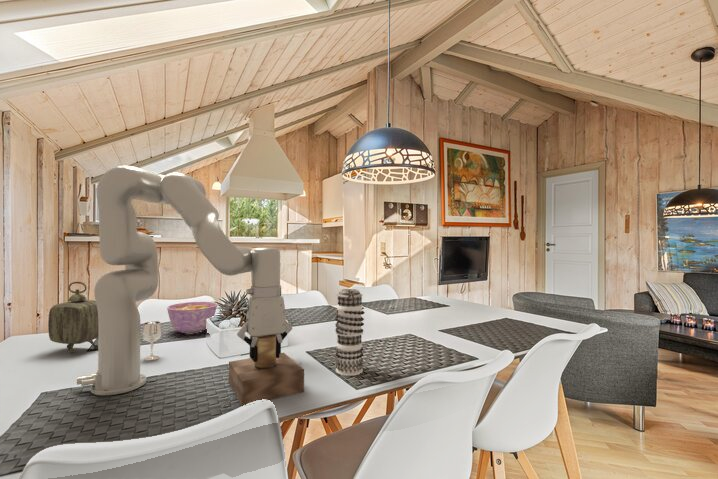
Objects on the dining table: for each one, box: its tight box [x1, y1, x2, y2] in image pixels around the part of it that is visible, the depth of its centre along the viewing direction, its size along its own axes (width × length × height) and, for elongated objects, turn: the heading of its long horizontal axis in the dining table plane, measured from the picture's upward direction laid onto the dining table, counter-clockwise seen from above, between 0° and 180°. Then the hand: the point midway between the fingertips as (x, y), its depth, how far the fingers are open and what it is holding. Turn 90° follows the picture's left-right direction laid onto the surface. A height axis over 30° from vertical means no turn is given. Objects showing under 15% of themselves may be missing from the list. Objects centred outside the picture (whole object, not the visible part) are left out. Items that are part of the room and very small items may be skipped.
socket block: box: [228, 352, 305, 406], centre depth 96 cm, size 16×16×6 cm
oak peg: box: [255, 335, 276, 370], centre depth 96 cm, size 6×6×14 cm
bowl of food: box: [166, 301, 218, 333], centre depth 153 cm, size 20×20×12 cm
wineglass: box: [141, 320, 163, 361], centre depth 119 cm, size 6×6×12 cm
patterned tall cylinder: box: [334, 288, 365, 377], centre depth 109 cm, size 9×9×25 cm
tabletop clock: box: [47, 281, 99, 354], centre depth 126 cm, size 14×9×25 cm, turn 84°
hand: (265, 357), depth 96 cm, fingers closed on oak peg, 5 cm apart
